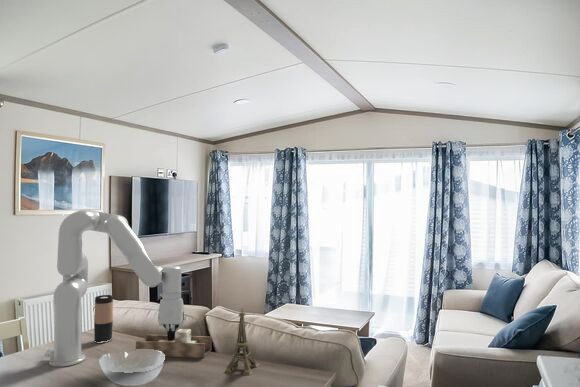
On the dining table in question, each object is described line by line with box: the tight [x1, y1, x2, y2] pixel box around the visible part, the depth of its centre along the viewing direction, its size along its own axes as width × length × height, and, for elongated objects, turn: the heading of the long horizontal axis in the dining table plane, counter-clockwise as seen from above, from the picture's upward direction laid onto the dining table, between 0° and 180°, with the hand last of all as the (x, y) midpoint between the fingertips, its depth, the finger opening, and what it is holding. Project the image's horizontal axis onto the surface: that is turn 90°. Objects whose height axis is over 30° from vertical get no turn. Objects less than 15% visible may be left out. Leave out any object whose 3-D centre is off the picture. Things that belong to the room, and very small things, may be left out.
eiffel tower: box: [222, 309, 260, 376], centre depth 153 cm, size 11×11×25 cm
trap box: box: [135, 334, 212, 359], centre depth 170 cm, size 29×10×6 cm, turn 84°
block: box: [175, 328, 192, 343], centre depth 170 cm, size 5×5×5 cm
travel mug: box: [93, 294, 114, 342], centre depth 185 cm, size 8×8×20 cm
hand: (171, 339), depth 170 cm, fingers closed
